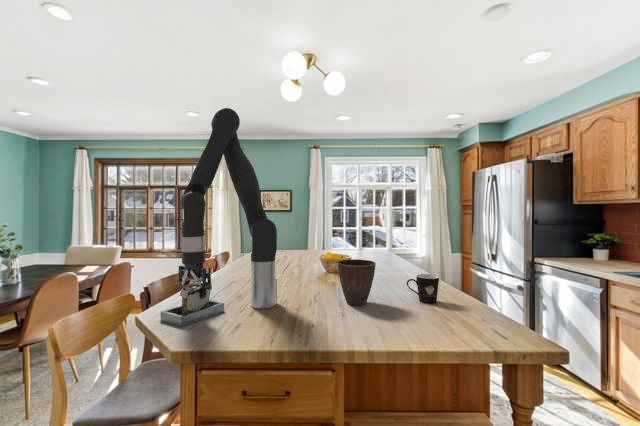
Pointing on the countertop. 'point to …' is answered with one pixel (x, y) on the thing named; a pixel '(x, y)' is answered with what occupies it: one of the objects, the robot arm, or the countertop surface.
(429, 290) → the coffee mug
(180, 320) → the collar
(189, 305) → the food container
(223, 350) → the countertop surface
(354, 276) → the plant pot
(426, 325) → the countertop surface
